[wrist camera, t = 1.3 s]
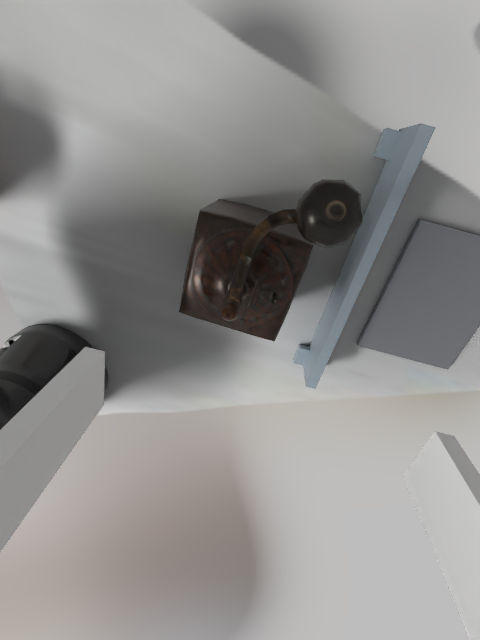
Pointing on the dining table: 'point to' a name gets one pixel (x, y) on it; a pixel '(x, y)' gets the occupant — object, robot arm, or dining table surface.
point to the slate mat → (429, 298)
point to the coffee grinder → (262, 256)
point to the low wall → (366, 242)
